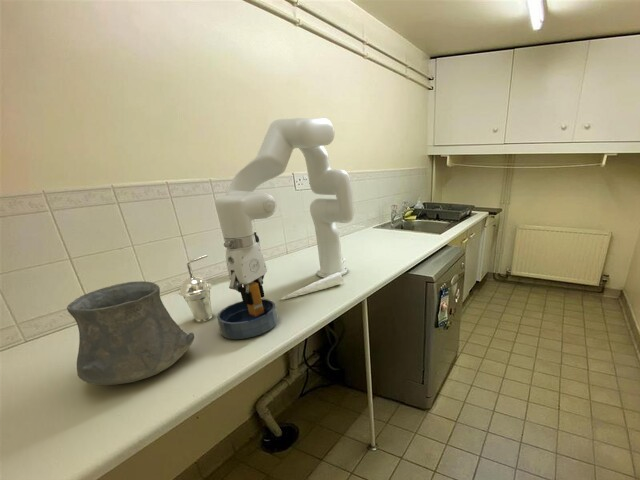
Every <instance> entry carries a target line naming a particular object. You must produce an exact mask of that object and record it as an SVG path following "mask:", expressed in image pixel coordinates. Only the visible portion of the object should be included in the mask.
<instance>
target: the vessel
mask: <svg viewBox="0 0 640 480" xmlns="http://www.w3.org/2000/svg"><path fill="white" fill-rule="evenodd" d="M66 310H67V312H68V313H69V314H70V315H71V317H72V318H73V319H74V321H75V322H76V325H77V328H78V335H79V337H78V338H79V339H78V341H79V343H78V350H77V351H78V352H77V358H76V375H77V377H78V378H79V379H80V380H81V381H82V382H85V383H86V384H90V385H97V386H112V385H114V386H115V385H122V384H130V383H134V382H137V381H142V380H144V379H148V378H150V377H153V376H156V375H158V374H159V373H161V372H163V371H166V370H167V369H168V368H170V367H171V366H173V365H174V364H175V363H176V362H177V361H179V359H181V358H182V357H183V355H184V354H185V353H186V352H187V351H188V349H190V347H191V345H192V344H193V341H194V339H195V333H194V332H189V333H187V332H186V331H185V330H183V329H182V328H181V327H180V326H179V324H178V323H177V322H176V321H175V320H174V319H173V317H172V316H171V314H170V313H169V311H168V310H167V308H166V306H165V304H164V303H163V301H162V299H161V288H160V286H159V285H158V284H157V283H155V282H152V281H143V280H142V281H128V282H122V283H117V284H113V285H108V286H105V287H102V288H99V289H95V290H92V291H90V292H88V293H84V294H82V295H80V296H79V297H76V298H75V299H74V300H73V301H72V302H70V303H69V304H68V305H67V306H66Z"/></svg>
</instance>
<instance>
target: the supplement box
mask: <svg viewBox="0 0 640 480" xmlns="http://www.w3.org/2000/svg"><path fill="white" fill-rule="evenodd" d="M242 287H244V285H243V284H242ZM249 292H251V293H252V297H253V302H254V304H252V305H248V304H247V306H248V310H249V314H250V315H253V316H255V317H256V316H258V315H260V314H263V313H264V309H263V305H262V300H261V299H262V297H261V295H260V290H259V286H258V283H256V282H253V281H252V282H251V283H249Z"/></svg>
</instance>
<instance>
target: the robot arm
mask: <svg viewBox="0 0 640 480" xmlns="http://www.w3.org/2000/svg"><path fill="white" fill-rule="evenodd" d="M334 139H335V127H334V124H333V123H332V122H331V121H330V119H328V118H326V117H293V118H280V119H275V120H273V121H272V122H271V123H269V126H268V128H267V131H266V133H265V135H264V138H263V139H262V143H261V145H260V147H259V150H258V152H257V154H256V156H255V157H254V158H253V159H251V160H250V161H249V162H248V163H247V164H246V165H245V166H243V168H241V169H240V170H239V171H238V172H236V174H235V175H234V177H233V178H232V180H231V181H230V184H229V186H228V189H227V191H226V194H225V195H224V196H219V197H217V198H216V199H215V202H214V205H215V208H216V213H217V217H218V220H219V221H218V222H219V224H220V229H221V233H222V236H223V241H224V242H223V246H224V247H225V248H226V249H225V262H226V268H227V272H228V277H229V280H230V282H229V287H228V289H230V290H234V291H237V293H240V295H241V301H243V303H244V304H248V305H252V304H254V302H253V297H252V293H251V292H249V283H251V282H252V281H253V282H256V283H258V286H259V290H260V295H261V299H264V298H265V292H264V286H263V285H264V278H265V276H266V274H267V272H268V270H267V264H266V261H265V257H264V254H263V251H262V248H261V249H260V246H261V245H260V246H259V244H258V243H257V242H256V240H255V236H254V231H253V229H254V226H253V222H252V221H253V220H262V219H268V218H270V217H272V216H273V215H275V212H276V211H277V205H278V204H277V201H276V199H275V197H273V195H271V194H270V193H268V192H264V191H255V190H256V189H257V188H258V187H259V186H260V185H263V184H264V183H266V182H268V181H270V180H273V179H275V178H277V177H279V176H281V175H282V174H284V173H285V171H286V169H287V166H288V165H289V161H290V159H291V157H292V154H293V152H294V149H299V150H300V151H301V153H302V154H303V158H304V160H305V164H306V165H305V167H306V171H307V177H308V183H309V187H310V190H311V192H312V193H314V194H315V195H320V196H321V195H322V196H335V197H317V198H315V199H313V200H312V201H311V203H310V205H309V213H310V216H311V219H312V222H313V226H314V230H315V231H314V232H315V237H316V246H317V247H316V248H317V255H318V261H319V262H318V263H319V268H318V270H317V271H316V274H317V276H318V277H320V278H323V279H324V278H326V277H328V276H330V275H333V274H335V273H337V272H339V273H340V274H341V275H342V276H344V275H345V274H347V273H348V268H347V267H346V266H344V263H345V262H346V260H347V259H346V258H345V257H343V252H342V251H343V250H342V241H341V232H340V229H339V227H338V226H337V224H348V223H351V222H352V221H353V219H354V218H355V217H354V216H355V203H354V196H353V195H354V194H353V185H352V180H351V177H350V175H349V173H348V172H347V171H346V170H344V169H340V168H332V167H331V164H330V158H329V154H328V152H327V150H326V147H325V146H329V145H330V144H332V142H333V141H334ZM243 285H244V287H243Z"/></svg>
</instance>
